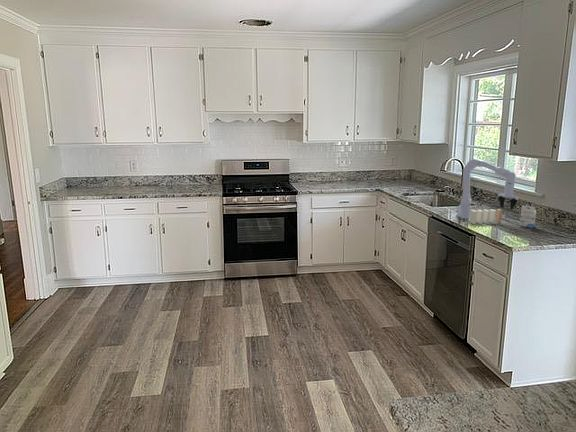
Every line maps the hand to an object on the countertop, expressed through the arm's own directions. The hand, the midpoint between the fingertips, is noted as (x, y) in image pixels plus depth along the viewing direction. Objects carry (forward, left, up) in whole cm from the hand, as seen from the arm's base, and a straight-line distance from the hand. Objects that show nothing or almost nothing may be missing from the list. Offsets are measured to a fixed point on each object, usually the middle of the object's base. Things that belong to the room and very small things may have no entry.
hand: (506, 208), depth 299 cm
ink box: (+12, +8, -11) cm, 18 cm away
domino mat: (-2, -13, -11) cm, 17 cm away
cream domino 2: (0, -20, -10) cm, 22 cm away
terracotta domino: (0, -5, -10) cm, 11 cm away
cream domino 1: (0, -25, -10) cm, 27 cm away
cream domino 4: (0, -10, -10) cm, 14 cm away
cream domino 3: (0, -15, -10) cm, 18 cm away
